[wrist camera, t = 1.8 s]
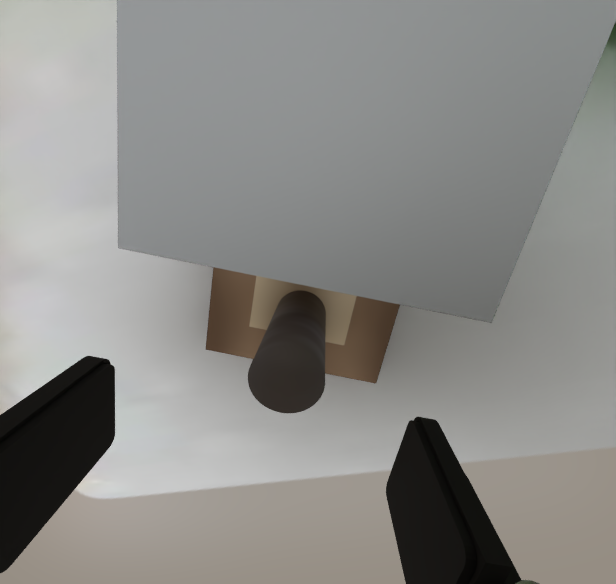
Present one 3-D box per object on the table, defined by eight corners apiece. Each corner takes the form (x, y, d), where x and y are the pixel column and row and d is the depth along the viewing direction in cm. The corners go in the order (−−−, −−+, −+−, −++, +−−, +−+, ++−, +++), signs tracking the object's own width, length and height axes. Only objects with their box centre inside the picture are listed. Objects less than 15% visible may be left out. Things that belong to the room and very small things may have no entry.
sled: (456, -115, 13) (634, -538, 6) (343, 338, 20) (353, 427, 12) (320, -143, 13) (310, -605, 6) (253, 320, 20) (206, 397, 12)
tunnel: (486, 54, 15) (668, -107, 7) (419, 267, 19) (491, 322, 10) (228, 2, 15) (116, -218, 7) (209, 224, 19) (118, 248, 10)
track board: (523, -130, 14) (541, -161, 13) (373, 373, 22) (376, 384, 21) (265, -181, 14) (259, -218, 13) (211, 341, 22) (205, 350, 21)
